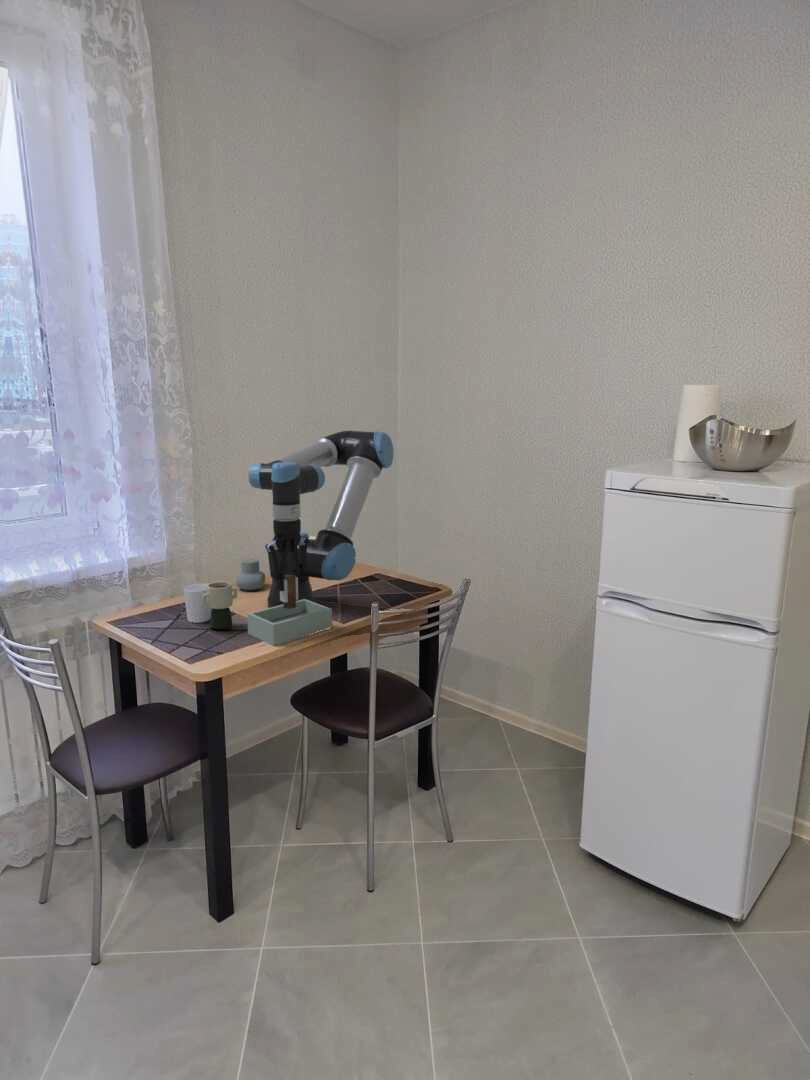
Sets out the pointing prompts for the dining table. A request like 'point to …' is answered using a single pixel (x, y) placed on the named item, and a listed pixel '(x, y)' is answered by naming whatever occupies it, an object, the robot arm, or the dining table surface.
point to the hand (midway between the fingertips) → (289, 599)
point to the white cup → (196, 603)
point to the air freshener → (250, 575)
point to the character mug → (220, 603)
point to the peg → (290, 592)
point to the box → (288, 622)
